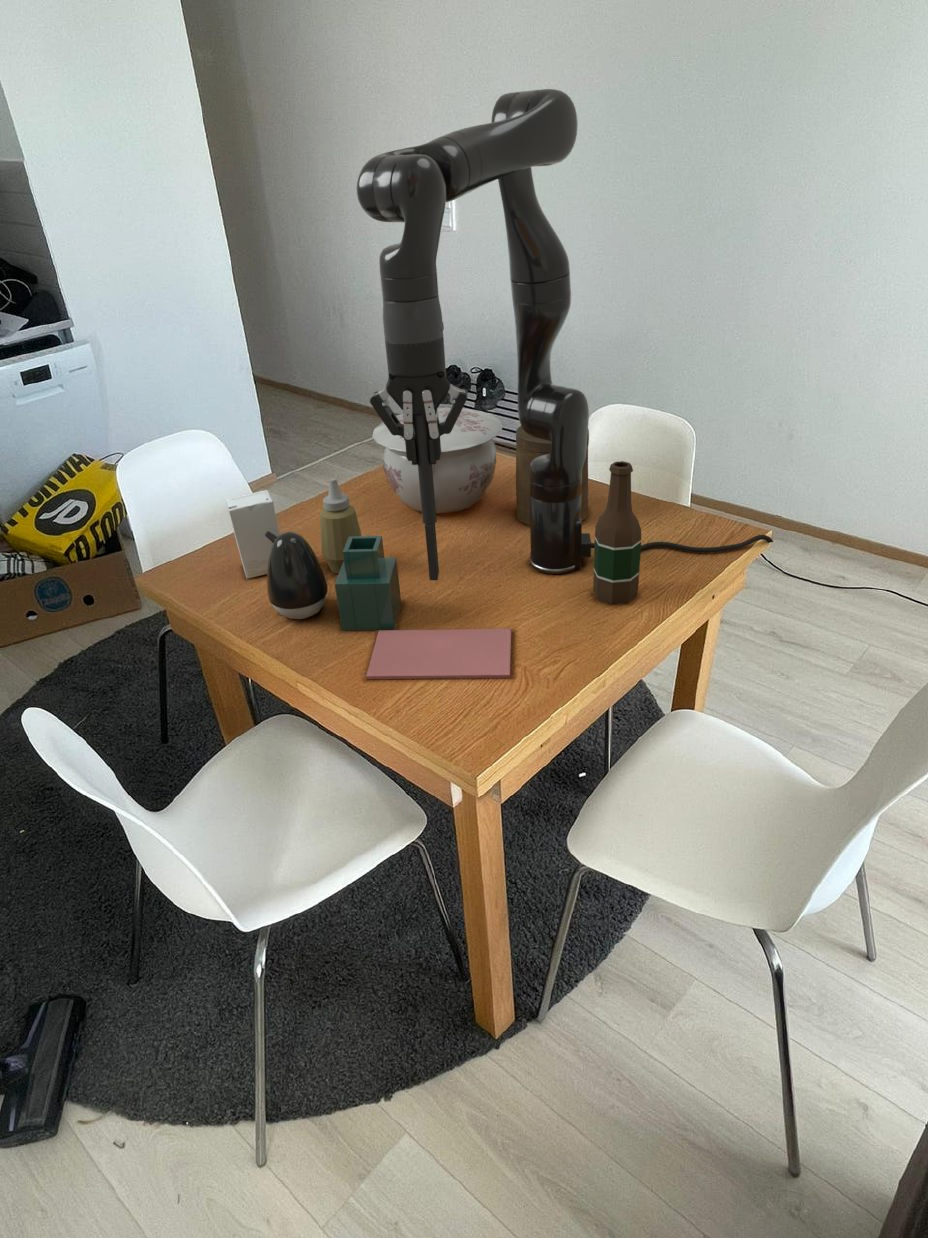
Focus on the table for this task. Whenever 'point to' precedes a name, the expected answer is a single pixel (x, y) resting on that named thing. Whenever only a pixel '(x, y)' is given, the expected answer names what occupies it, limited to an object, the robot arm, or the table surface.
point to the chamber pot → (445, 462)
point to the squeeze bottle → (337, 525)
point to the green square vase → (367, 586)
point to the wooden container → (525, 454)
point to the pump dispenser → (294, 577)
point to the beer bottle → (617, 542)
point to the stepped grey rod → (426, 491)
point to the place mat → (441, 654)
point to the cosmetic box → (253, 529)
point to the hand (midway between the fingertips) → (424, 462)
